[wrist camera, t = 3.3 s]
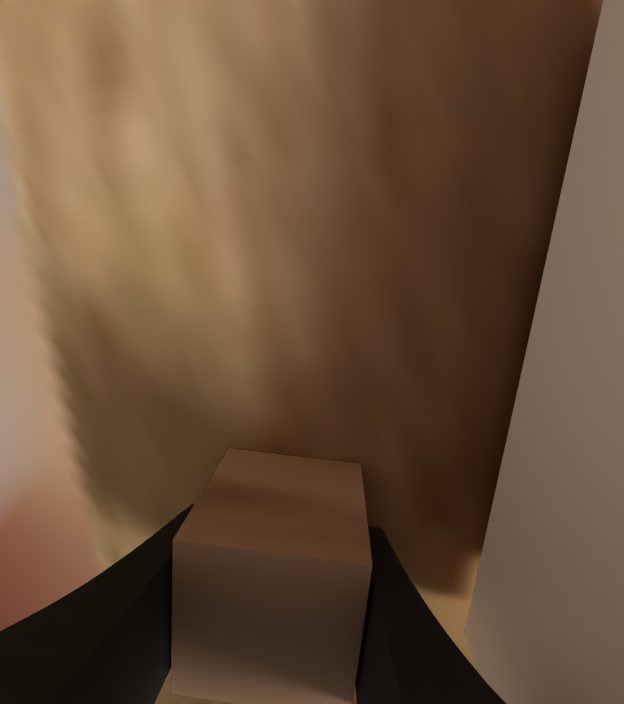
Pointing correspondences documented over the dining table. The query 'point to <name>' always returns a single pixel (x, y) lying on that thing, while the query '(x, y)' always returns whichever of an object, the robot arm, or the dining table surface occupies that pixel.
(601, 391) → the tray
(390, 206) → the dining table surface
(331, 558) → the walnut block
